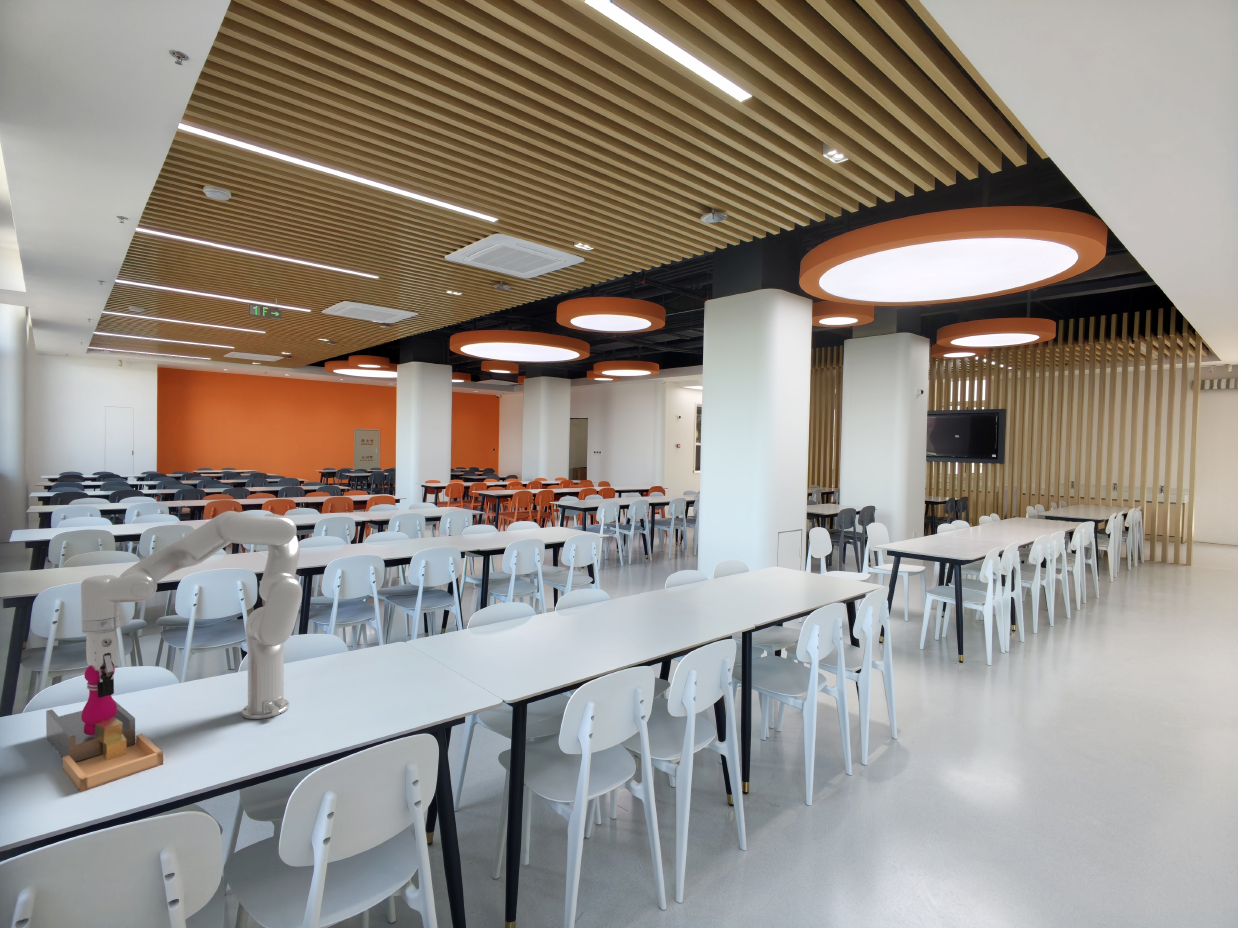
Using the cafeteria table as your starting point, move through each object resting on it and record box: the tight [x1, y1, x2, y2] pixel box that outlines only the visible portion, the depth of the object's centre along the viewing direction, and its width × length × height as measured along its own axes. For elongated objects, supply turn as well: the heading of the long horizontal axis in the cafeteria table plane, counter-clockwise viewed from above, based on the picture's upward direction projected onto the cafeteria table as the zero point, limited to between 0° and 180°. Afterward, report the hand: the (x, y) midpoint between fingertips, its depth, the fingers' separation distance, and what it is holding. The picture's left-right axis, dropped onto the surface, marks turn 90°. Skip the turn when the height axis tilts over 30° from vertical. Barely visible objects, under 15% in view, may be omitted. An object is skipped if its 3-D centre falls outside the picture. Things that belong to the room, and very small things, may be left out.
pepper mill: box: [81, 665, 117, 735], centre depth 159 cm, size 7×7×20 cm
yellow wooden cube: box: [103, 734, 127, 761], centre depth 157 cm, size 4×4×4 cm
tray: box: [62, 733, 164, 793], centre depth 153 cm, size 16×16×3 cm
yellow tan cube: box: [94, 717, 123, 744], centre depth 157 cm, size 4×4×4 cm
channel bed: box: [45, 700, 136, 763], centre depth 165 cm, size 24×13×8 cm, turn 53°
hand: (102, 691), depth 159 cm, fingers closed on pepper mill, 5 cm apart
